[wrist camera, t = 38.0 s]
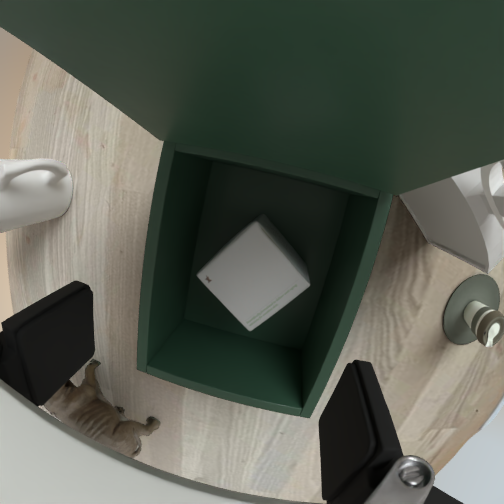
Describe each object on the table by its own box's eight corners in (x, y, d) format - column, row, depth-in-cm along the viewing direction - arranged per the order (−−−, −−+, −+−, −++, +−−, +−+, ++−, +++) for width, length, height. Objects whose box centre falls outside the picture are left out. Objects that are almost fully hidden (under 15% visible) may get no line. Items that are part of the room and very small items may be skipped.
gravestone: (428, 243, 22) (581, 333, 5) (367, 153, 21) (520, 98, 4) (448, 224, 22) (608, 289, 4) (390, 134, 21) (548, 67, 3)
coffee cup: (519, 257, 21) (547, 270, 16) (490, 357, 24) (510, 379, 19) (436, 248, 22) (464, 263, 17) (408, 364, 25) (424, 393, 20)
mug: (45, 228, 27) (-37, 251, 16) (32, 175, 26) (-49, 182, 14) (104, 194, 25) (8, 208, 14) (89, 133, 24) (-4, 121, 12)
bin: (307, 353, 26) (309, 418, 18) (178, 319, 27) (136, 369, 18) (358, 187, 22) (395, 188, 14) (208, 151, 23) (164, 134, 15)
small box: (257, 307, 25) (248, 334, 20) (211, 256, 24) (192, 274, 20) (310, 265, 23) (314, 285, 19) (262, 211, 23) (255, 217, 18)
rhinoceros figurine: (137, 458, 31) (48, 473, 18) (106, 374, 37) (19, 363, 24) (175, 446, 29) (77, 468, 17) (137, 353, 36) (42, 338, 23)
